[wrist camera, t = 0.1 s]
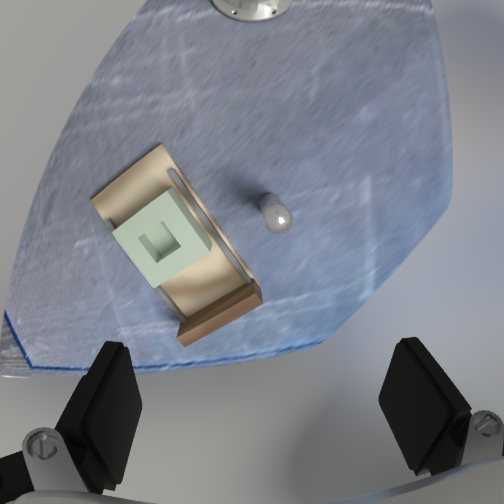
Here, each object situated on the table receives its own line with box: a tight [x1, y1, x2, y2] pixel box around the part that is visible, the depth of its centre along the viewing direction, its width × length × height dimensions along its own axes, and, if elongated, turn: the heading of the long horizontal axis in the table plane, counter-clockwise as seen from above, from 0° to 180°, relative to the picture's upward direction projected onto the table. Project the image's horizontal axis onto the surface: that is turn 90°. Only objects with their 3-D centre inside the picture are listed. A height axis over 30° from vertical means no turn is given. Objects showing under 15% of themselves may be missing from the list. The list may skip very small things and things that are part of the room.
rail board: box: [91, 144, 263, 347], centre depth 44 cm, size 26×14×6 cm, turn 32°
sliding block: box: [112, 187, 213, 288], centre depth 43 cm, size 10×10×4 cm
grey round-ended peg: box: [259, 194, 293, 234], centre depth 41 cm, size 3×3×10 cm
